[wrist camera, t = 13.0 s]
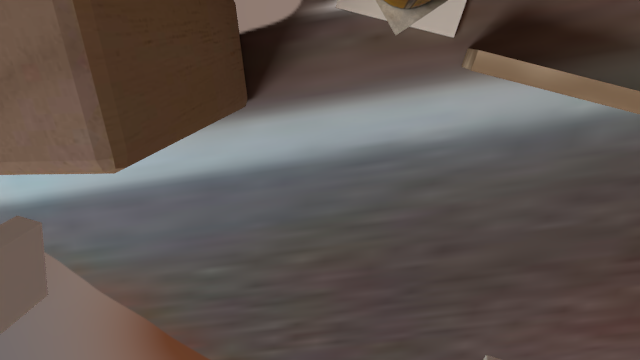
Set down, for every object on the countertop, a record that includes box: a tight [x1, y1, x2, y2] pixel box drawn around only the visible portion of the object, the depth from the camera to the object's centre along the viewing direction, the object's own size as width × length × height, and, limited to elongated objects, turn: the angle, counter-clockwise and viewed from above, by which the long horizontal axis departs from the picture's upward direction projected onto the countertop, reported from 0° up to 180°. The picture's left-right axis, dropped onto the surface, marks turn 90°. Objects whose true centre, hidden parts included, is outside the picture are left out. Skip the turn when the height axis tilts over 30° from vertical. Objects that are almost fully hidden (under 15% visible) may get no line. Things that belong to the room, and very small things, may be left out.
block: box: [0, 0, 248, 175], centre depth 27 cm, size 10×10×20 cm
